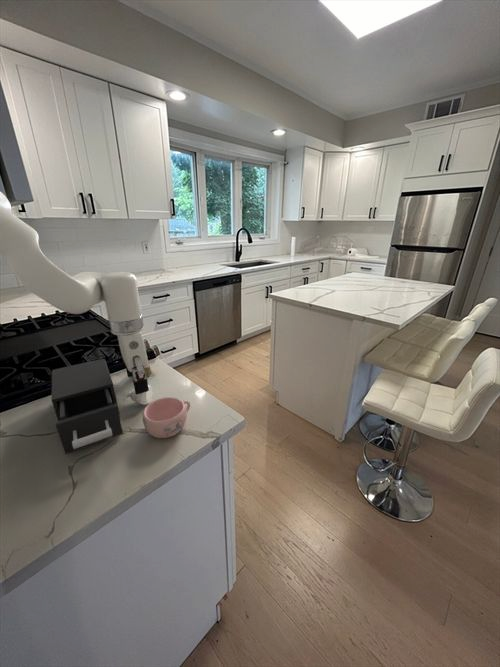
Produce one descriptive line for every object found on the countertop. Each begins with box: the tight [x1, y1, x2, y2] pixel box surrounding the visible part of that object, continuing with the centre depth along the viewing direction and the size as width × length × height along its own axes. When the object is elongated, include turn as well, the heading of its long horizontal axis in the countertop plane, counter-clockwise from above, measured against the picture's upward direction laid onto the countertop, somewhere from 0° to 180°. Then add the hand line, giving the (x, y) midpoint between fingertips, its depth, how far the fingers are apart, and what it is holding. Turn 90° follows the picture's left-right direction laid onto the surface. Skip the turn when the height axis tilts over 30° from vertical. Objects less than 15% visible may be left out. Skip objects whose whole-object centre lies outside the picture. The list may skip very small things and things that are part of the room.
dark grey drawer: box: [55, 388, 124, 455], centre depth 63 cm, size 20×11×8 cm, turn 33°
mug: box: [142, 396, 191, 439], centre depth 67 cm, size 12×10×6 cm
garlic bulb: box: [126, 384, 153, 406], centre depth 76 cm, size 6×6×5 cm
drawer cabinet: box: [51, 358, 120, 421], centre depth 73 cm, size 16×13×10 cm
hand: (137, 383), depth 74 cm, fingers open, 9 cm apart
